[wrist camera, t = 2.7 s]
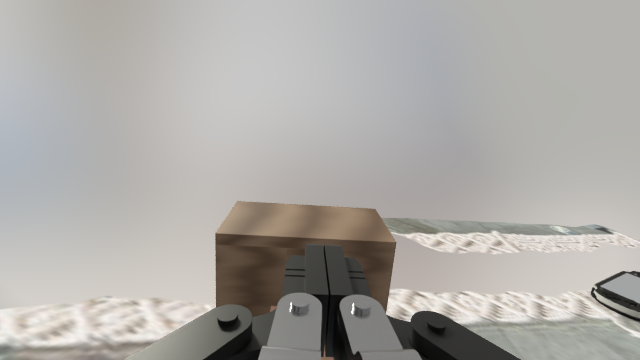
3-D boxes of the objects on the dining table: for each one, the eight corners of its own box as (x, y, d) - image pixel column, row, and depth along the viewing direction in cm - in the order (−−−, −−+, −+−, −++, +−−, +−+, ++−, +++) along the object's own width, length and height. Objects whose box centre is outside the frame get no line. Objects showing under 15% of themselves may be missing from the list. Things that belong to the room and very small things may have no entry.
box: (216, 367, 34) (215, 233, 31) (236, 308, 44) (237, 201, 40) (377, 371, 36) (396, 242, 32) (362, 313, 45) (375, 208, 41)
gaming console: (651, 333, 47) (656, 318, 46) (580, 298, 54) (584, 285, 53) (691, 301, 56) (697, 289, 55) (626, 275, 63) (630, 264, 63)
